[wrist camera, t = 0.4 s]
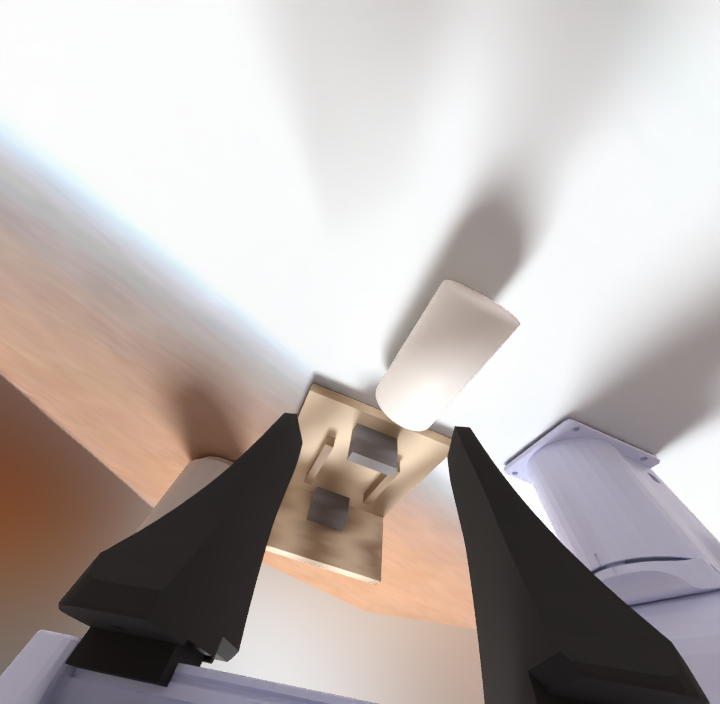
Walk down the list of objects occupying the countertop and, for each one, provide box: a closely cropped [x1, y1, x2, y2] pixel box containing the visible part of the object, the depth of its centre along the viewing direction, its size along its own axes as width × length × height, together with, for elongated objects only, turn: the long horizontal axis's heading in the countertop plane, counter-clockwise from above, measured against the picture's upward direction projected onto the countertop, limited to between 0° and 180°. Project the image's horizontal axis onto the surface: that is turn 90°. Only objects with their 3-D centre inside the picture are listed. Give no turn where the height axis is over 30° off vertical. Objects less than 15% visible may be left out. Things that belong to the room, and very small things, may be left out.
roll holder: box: [265, 383, 452, 585], centre depth 24 cm, size 14×16×7 cm
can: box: [135, 456, 233, 533], centre depth 26 cm, size 8×8×12 cm
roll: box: [376, 279, 520, 431], centre depth 17 cm, size 5×9×5 cm, turn 158°
